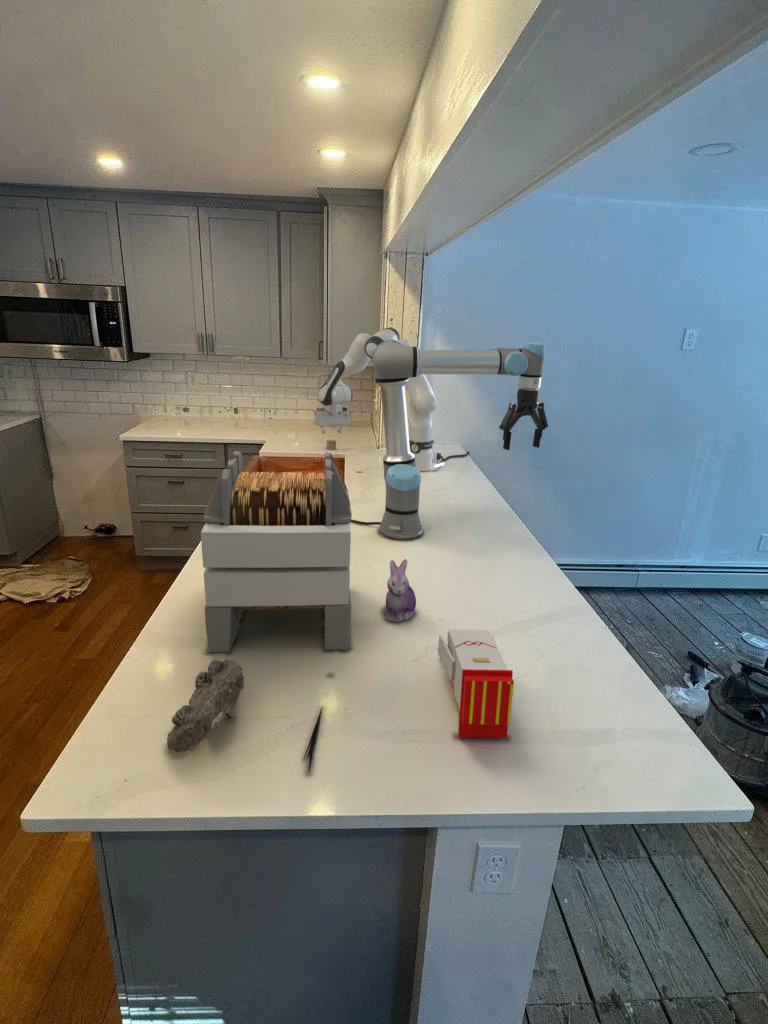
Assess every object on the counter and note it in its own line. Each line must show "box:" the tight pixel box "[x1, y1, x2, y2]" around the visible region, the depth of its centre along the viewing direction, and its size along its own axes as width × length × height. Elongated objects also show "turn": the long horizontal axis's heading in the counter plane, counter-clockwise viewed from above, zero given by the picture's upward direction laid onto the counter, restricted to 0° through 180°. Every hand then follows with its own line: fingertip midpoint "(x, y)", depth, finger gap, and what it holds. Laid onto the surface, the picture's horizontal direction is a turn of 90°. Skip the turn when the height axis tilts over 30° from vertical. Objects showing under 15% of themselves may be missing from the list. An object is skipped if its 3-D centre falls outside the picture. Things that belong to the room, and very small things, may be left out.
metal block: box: [326, 439, 337, 451], centre depth 313 cm, size 4×4×5 cm
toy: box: [437, 628, 515, 738], centre depth 117 cm, size 12×13×30 cm
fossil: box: [166, 658, 245, 754], centre depth 106 cm, size 22×10×15 cm
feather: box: [301, 673, 332, 771], centre depth 108 cm, size 2×28×2 cm
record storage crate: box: [200, 450, 353, 653], centre depth 138 cm, size 34×33×41 cm
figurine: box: [384, 558, 417, 623], centre depth 145 cm, size 9×10×15 cm
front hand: (521, 448), depth 206 cm, fingers open, 13 cm apart
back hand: (331, 433), depth 308 cm, fingers open, 8 cm apart
